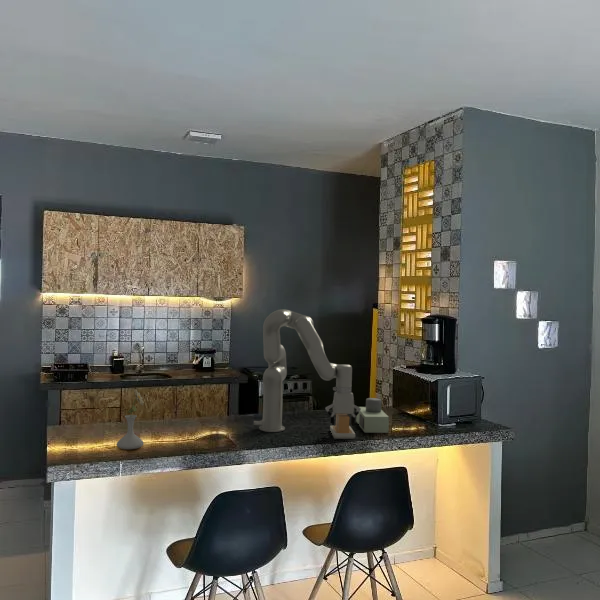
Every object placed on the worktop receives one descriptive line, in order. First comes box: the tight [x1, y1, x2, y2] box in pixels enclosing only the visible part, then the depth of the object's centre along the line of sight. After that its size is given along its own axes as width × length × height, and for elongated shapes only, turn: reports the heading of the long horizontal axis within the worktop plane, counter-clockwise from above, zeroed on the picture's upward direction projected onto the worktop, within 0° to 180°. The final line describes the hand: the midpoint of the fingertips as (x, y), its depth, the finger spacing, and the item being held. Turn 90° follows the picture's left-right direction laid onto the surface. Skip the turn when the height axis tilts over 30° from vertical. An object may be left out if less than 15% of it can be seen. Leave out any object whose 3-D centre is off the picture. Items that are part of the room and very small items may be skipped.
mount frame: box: [329, 425, 356, 440], centre depth 295 cm, size 10×16×2 cm, turn 4°
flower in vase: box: [116, 388, 145, 450], centre depth 260 cm, size 13×11×25 cm
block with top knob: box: [355, 397, 390, 434], centre depth 313 cm, size 13×24×14 cm, turn 5°
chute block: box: [335, 414, 351, 433], centre depth 295 cm, size 5×11×9 cm, turn 4°
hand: (342, 424), depth 295 cm, fingers open, 9 cm apart
